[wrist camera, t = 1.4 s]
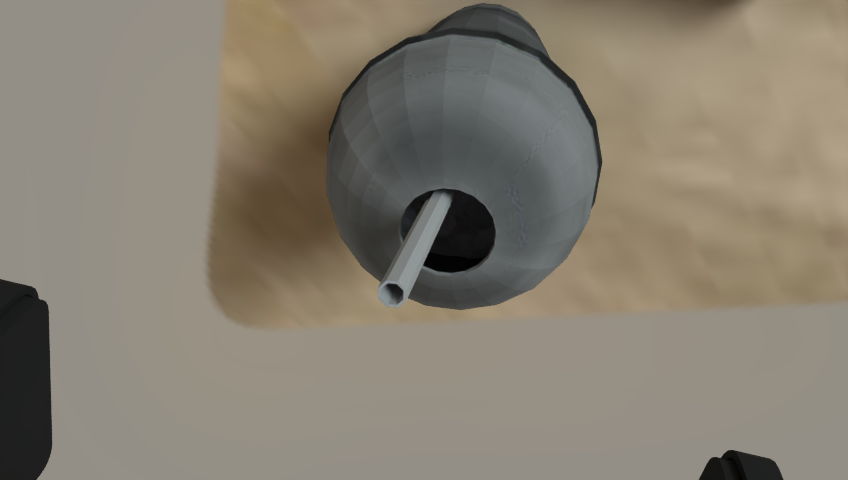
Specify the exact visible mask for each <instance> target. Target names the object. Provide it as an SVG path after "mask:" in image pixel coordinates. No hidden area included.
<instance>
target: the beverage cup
mask: <svg viewBox="0 0 848 480" xmlns="http://www.w3.org/2000/svg"><path fill="white" fill-rule="evenodd" d="M601 166H602V157H601V151H600V144H599V138H598V131H597V125H596V120H595V118H594V116H593V114H592V113H591V111H590V109H589V107H588V105H587V103H586V101H585V100H584V98H583V96H582V94H581V92H580V90H579V89H578V87H577V85H576V83H575V81H573V80H572V79H571V78H570V77H569V76H568V75H567V74H566V73H565V72H564V71H562V70H561V69H560V68H559V67H558V66H557V65H556V64H555V63H554V62H553V61H552V60H551V59H550V57H549V55H548V53H547V51H546V49H545V47H544V45H543V43H542V42H541V40H540V38H539V36H538V34H537V32H536V31H535V29H534V28H532V26H531V25H530V24H529V23H528V22H527V21H526V20H525V19H524V18H523V17H522V16H521V15H520V14H518V13H517V12H515V11H513V10H511V9H508V8H506V7H504V6H502V5H495V4H485V3H481V4H477V5H473V6H468V7H464V8H462V9H461V10H458V11H456V12H455V13H453V14H451V15H450V16H448V17H447V18H445V19H443V20H442V21H440V22H439V23H438V24H437V25H436V26H434V27H433V28H432V29H431V30H430V31H428V32H427V33H426V34H422V35H418V36H414V37H409V38H406V39H405V40H403V41H402V42H400V43H398V44H397V45H395V46H393V47H392V48H390V49H389V50H387V51H385V52H384V53H382V54H380V55H379V56H377V57H376V58H374V59H372V60H371V61H369V63H368V64H367V65H366V66H365V68H364V69H363V70H362V71H361V72H360V74H359V75H358V76H357V77H356V79H355V80H354V81H353V82H352V83H351V85H350V86H349V87H348V88H347V89H346V91H345V92H344V93H343V95H342V98H341V101H340V103H339V106H338V109H337V112H336V114H335V117H334V120H333V123H332V125H331V128H330V131H329V145H328V154H327V196H328V199H329V202H330V205H331V209H332V212H333V215H334V218H335V221H336V224H337V227H338V230H339V233H340V236H341V238H342V239H343V241H344V242H345V244H346V245H347V246H348V248H349V249H350V251H351V252H352V254H353V255H354V256H355V258H356V259H357V261H358V262H359V263H360V265H361V266H362V267H363V268H364V269H365V270H366V271H367V272H369V273H370V274H371V275H372V276H374V277H375V278H376V279H378V280H379V281H380V282H381V283H380V285H379V287H378V299H379V300H380V301H381V302H382V303H383V304H384V305H385V306H386V307H396V308H398V307H400V306H401V305H402V304H403V303H404V302H405V301H407V298H409V299H411V300H414V301H416V302H419V303H421V304H423V305H426V306H433V307H441V308H449V309H457V310H464V309H471V308H477V307H484V306H491V305H497V304H500V303H502V302H505V301H507V300H509V299H511V298H513V297H516V296H518V295H520V294H522V293H524V292H527V291H529V290H531V289H533V288H534V287H536V286H537V285H538V284H539V283H540V282H541V281H542V280H543V279H545V278H546V277H547V276H548V275H549V274H550V273H551V272H552V271H554V270H555V269H556V268H557V267H558V266H559V265H560V264H561V263H562V262H563V261H564V260H565V259H566V258H567V257H568V255H569V254H570V252H571V250H572V248H573V247H574V245H575V243H576V241H577V240H578V238H579V236H580V234H581V233H582V231H583V229H584V227H585V226H586V224H587V221H588V219H589V216H590V212H591V209H592V207H593V205H594V203H595V198H596V193H597V188H598V182H599V177H600V172H601Z"/></svg>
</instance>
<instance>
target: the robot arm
mask: <svg viewBox="0 0 848 480" xmlns="http://www.w3.org/2000/svg"><path fill="white" fill-rule="evenodd" d="M49 346H50V345H49V310H48V305H47V303H46V302H45V301H43V300H40V299H39V298H38V293H37V291H36V289H35V288H33V287H31V286H27V285H23V284H18V283H14V282H10V281H6V280H1V279H0V480H37V478H38V477H39V476H40V474H41V473H42V471H43V470H44V468H45V466H46V464H47V462H48V460H49V457H50V454H51V449H52V423H51V422H52V420H51V384H50V383H51V382H50V347H49ZM699 480H783V478H782V475H781V473H780V470H779V468H778V466H777V465H776V463H775V462H774V461H772V460H771V459H769V458H765V457H760V456H756V455H751V454H747V453H743V452H738V451H734V450H728V451H727V452H726V453H724V454H723V456H722V457H721V458H718V457H713V458H711V459H710V460H709V462H708V463H707V465H706V467H705V469H704V471H703V473H702V475H701V477H700V479H699Z"/></svg>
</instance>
